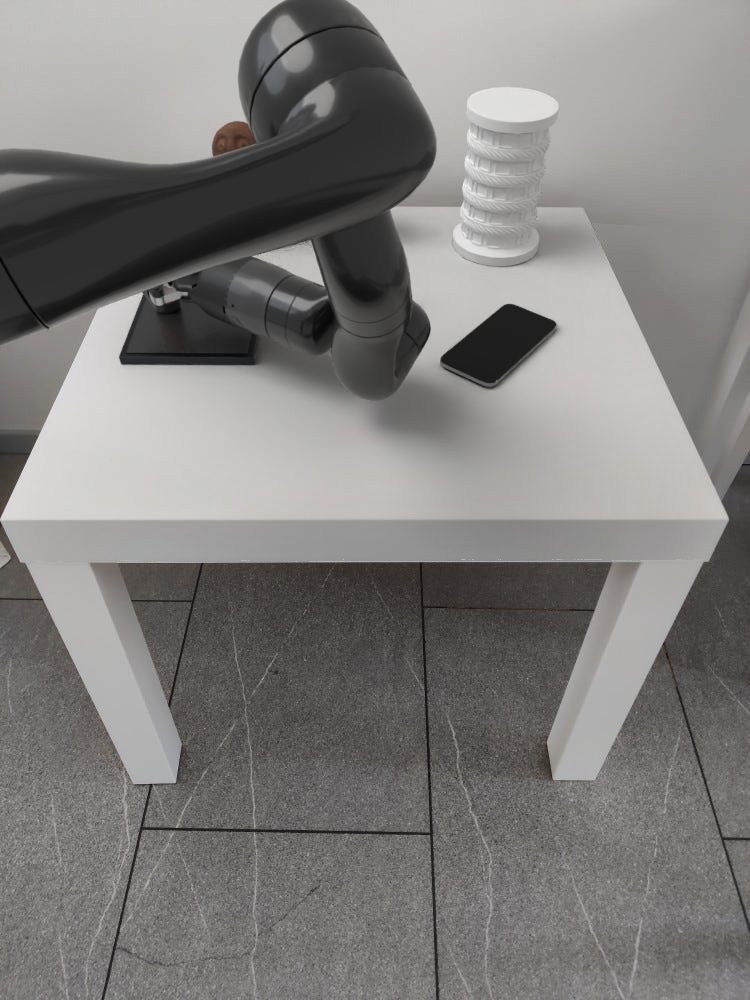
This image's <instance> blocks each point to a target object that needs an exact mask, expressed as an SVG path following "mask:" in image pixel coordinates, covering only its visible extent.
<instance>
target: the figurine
mask: <svg viewBox="0 0 750 1000" xmlns="http://www.w3.org/2000/svg"><path fill="white" fill-rule="evenodd" d="M211 143H212V144H211V154H212V157H214V156H217V155H220V154H224V153H227V152H231V151H234V150H237V149H241V148H244V147H248V146H251V145H253V144H256V143H257V142H256V140H255V138H254V136H253V134H252V132H251V130H250V128H249V126H248V124H247V122H246V121H242V120H241V121H240V120H234V121H229V122H227V123H225V124H224V125H223V126H221V127H220V128H219V129H218V130H217V131H216V133H214V136H213V139H212V142H211Z"/></svg>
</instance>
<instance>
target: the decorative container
mask: <svg viewBox="0 0 750 1000" xmlns="http://www.w3.org/2000/svg"><path fill="white" fill-rule="evenodd" d="M559 110H560V106H559V102H558V101H557V100H556V99H555V98H554V97H552V96H551V95H549V94H547V93H545V92H542V91H539V90H535V89H532V88H525V87H518V86H497V87H490V88H484V89H481V90H478V91H476V92H474V93H472V94H471V95H470V96H469V97H468V98H467V100H466V109H465V116H466V118H467V119H468V121H470V126H469V128H468V130H467V134H466V146H467V147H468V149H467V154H466V155H465V158H464V162H463V164H464V172H465V174H466V175H465V178H464V180H463V183H462V187H461V191H462V197H463V202H462V204H461V206H460V208H459V209H460V210H459V215H460V221H461V222H459V223H458V224H456V225H455V227H454V228H453V231H452V247H453V249H454V251H455V252H456V253H457V254H458V255H460V256H461V257H463V258H464V259H466V260H468V261H470V262H472V263H476V264H477V265H483V266H489V267H509V266H515V265H519V264H523V263H525V262H527V261H529V260H531V259H532V258H533V257H534V256H535V255H536V254H537V252H538V249H539V244H540V234H539V233H538V231H537V230H536V228H535V225H536V223H537V219H538V214H539V213H538V207H537V205H538V204H539V202H540V200H541V198H542V197H541V195H542V184H541V180H542V179H543V177H544V176H545V173H546V169H547V167H546V166H547V164H546V158H545V156H546V155H545V154H547V152H548V150H549V147H550V143H551V135H550V128H551V127H552V126H553V125H555V124H556V122H557V120H558V117H559Z"/></svg>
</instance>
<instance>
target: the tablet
mask: <svg viewBox="0 0 750 1000" xmlns="http://www.w3.org/2000/svg"><path fill="white" fill-rule="evenodd" d="M179 301H180V300H179ZM130 324H131V325H130V327H129V329H128V332H127V334H126V337H125V340H124V342H123V346H122V348H121V350H120V353H119V355H118V359H119V362H120V364H121V365H218V366H219V365H224V366H225V365H229V366H231V365H232V366H233V365H234V366H235V365H237V366H240V365H241V366H242V365H244V366H245V365H246V366H254V365H255V363H256V357H257V351H258V345H259V341H260V337H259V336H256V335H253V334H251V333H249V332H246V331H244V330H242V329H239V328H237V327H234V326H232V325H230V324H227V323H225V322H223V321H220V320H218V319H215V318H213V317H211V316H209V315H207V314H206V313H205V312H204V311H203V310H202V309H201V308H200V307H199V306H198V305H197V304H195V303H185V302H182V301H180V307H179V308H178V309H177V310H176V311H174V312H171V313H160V312H158V311H156V310H155V308H154V307H153V306H152V304H151V303H150V302H149V301H148V299H147V298H146V297H145V295H144V294H143V293H142V296H141V299H140V301H139V304H138V307H137V309H136V311H135V314H134V317H133V319H132V321H131V323H130Z"/></svg>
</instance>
